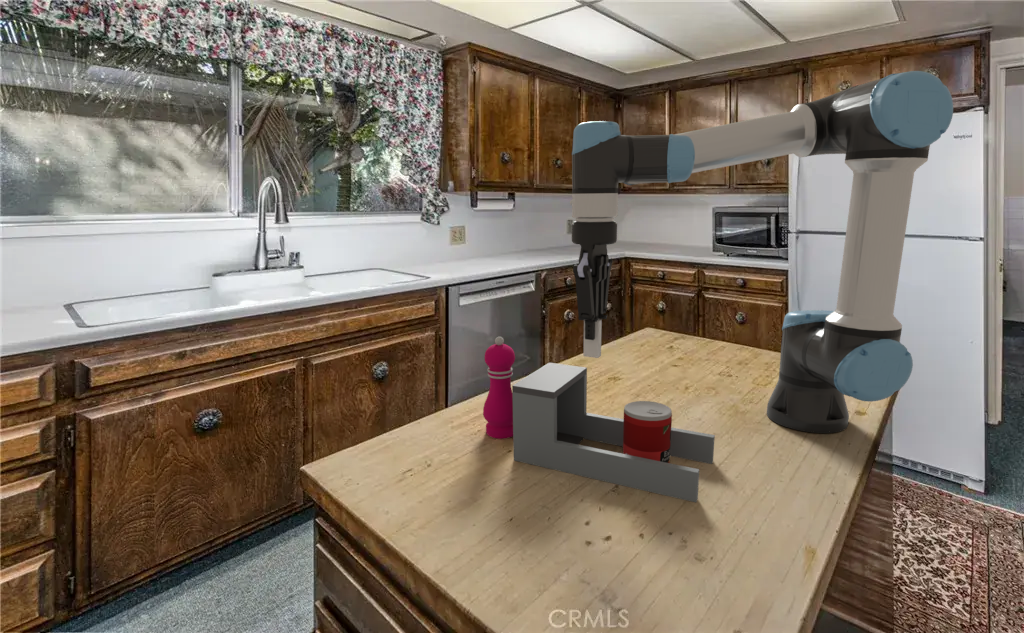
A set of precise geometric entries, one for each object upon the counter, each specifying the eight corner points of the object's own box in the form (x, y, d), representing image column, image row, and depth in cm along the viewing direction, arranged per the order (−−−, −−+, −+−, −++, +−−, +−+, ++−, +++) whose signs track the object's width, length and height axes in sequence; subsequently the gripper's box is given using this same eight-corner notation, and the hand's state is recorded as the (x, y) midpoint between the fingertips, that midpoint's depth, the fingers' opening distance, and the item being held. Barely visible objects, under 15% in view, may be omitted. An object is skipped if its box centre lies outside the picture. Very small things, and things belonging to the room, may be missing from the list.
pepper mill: (493, 443, 110) (490, 343, 105) (477, 429, 116) (474, 335, 112) (525, 435, 113) (524, 338, 109) (509, 422, 119) (507, 330, 115)
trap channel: (713, 461, 101) (717, 385, 98) (696, 502, 87) (701, 416, 84) (549, 429, 116) (549, 362, 113) (513, 460, 102) (512, 385, 99)
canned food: (670, 480, 94) (673, 418, 92) (622, 476, 96) (623, 415, 93) (667, 459, 102) (670, 401, 99) (622, 456, 103) (624, 399, 101)
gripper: (587, 218, 102) (585, 344, 107) (557, 221, 91) (557, 363, 95) (628, 218, 98) (624, 349, 103) (602, 222, 87) (599, 368, 92)
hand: (592, 355), depth 99 cm, fingers closed
